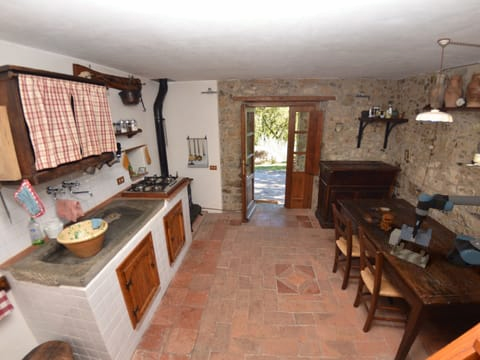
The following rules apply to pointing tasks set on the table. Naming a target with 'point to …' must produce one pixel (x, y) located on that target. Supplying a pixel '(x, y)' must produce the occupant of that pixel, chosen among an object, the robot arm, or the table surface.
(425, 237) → the notched blue block
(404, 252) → the jig board
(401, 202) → the table surface
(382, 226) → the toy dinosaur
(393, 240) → the wing bar
